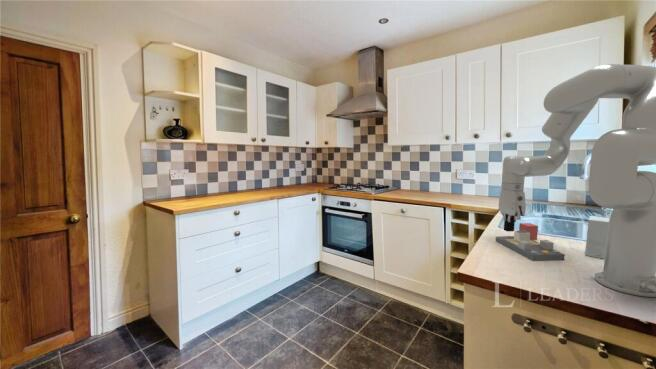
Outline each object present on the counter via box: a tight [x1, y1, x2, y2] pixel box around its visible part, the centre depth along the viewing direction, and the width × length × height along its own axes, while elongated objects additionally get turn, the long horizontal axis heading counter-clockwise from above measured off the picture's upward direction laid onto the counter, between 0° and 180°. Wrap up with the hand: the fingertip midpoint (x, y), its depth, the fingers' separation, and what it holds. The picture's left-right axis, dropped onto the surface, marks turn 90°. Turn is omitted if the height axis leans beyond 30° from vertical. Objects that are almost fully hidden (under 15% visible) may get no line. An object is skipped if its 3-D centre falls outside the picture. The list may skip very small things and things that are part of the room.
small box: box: [584, 215, 610, 260], centre depth 97 cm, size 8×6×13 cm
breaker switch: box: [513, 229, 530, 242], centre depth 105 cm, size 3×4×4 cm
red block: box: [518, 222, 539, 241], centre depth 116 cm, size 4×4×6 cm
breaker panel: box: [495, 235, 566, 262], centre depth 103 cm, size 20×11×4 cm, turn 1°
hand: (508, 230), depth 113 cm, fingers closed
